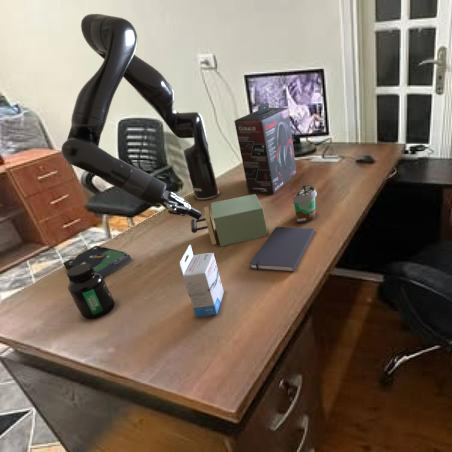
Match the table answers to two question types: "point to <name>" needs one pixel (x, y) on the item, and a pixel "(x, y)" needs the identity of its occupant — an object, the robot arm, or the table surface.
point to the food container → (305, 204)
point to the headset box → (266, 149)
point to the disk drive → (100, 260)
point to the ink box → (202, 282)
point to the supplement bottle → (89, 292)
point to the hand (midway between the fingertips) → (200, 216)
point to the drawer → (209, 226)
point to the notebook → (282, 249)
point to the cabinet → (238, 219)
